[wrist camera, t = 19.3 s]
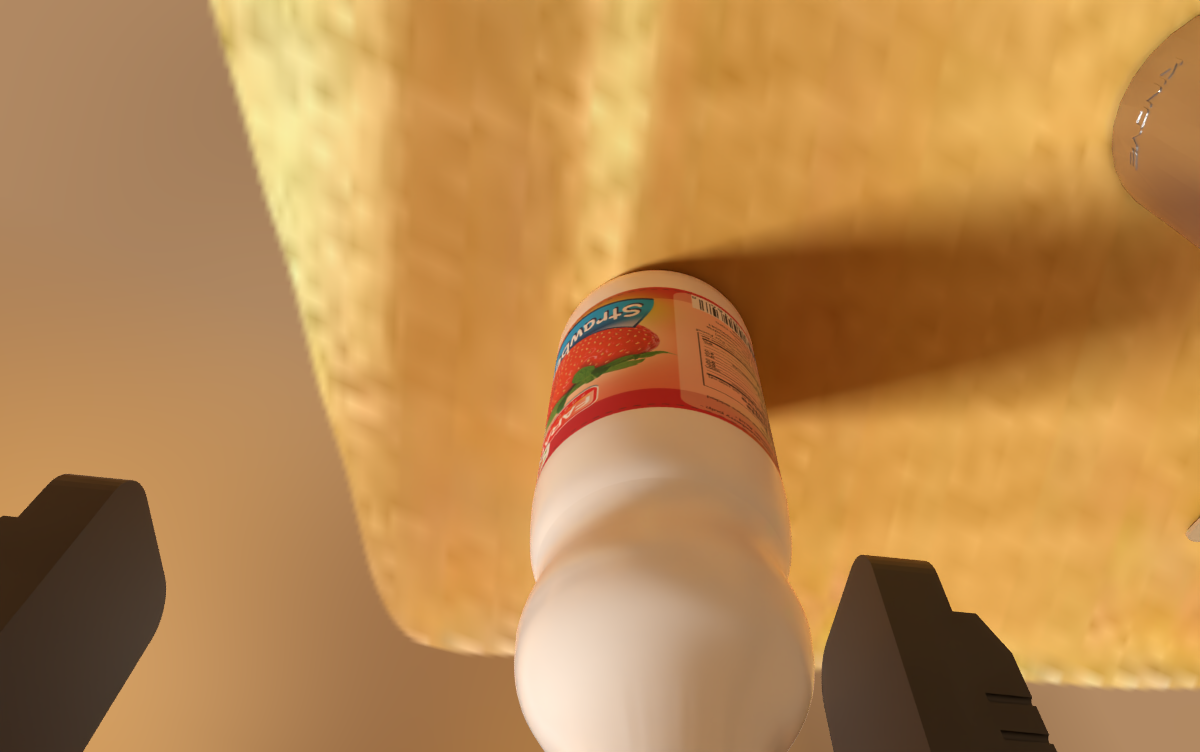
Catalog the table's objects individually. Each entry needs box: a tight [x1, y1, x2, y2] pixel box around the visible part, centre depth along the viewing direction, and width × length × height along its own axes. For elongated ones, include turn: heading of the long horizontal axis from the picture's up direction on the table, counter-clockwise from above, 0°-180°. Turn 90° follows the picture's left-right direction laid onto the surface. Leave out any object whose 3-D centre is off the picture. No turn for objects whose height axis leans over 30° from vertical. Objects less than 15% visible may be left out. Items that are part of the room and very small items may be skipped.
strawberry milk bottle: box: [514, 270, 815, 752], centre depth 31 cm, size 9×9×28 cm
